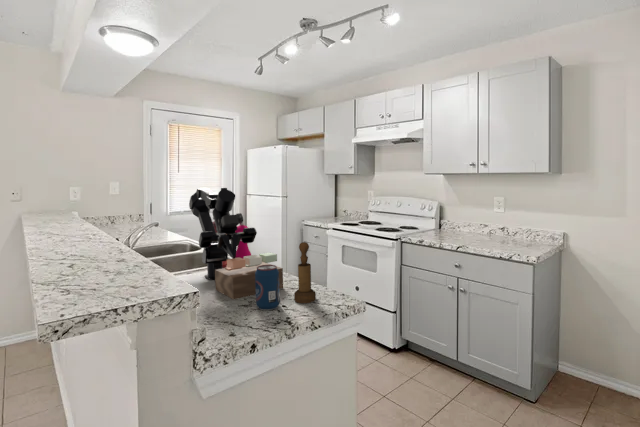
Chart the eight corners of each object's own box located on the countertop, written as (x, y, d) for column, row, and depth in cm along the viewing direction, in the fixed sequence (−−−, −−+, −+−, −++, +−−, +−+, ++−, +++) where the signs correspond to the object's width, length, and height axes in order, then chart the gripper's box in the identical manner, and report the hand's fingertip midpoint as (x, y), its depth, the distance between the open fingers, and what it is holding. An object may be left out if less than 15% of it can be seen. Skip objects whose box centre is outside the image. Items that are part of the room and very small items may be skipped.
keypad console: (215, 289, 127) (214, 268, 126) (262, 280, 138) (262, 260, 138) (233, 299, 116) (232, 276, 115) (283, 288, 127) (282, 267, 127)
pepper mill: (248, 270, 153) (246, 222, 151) (231, 270, 155) (229, 222, 153) (254, 266, 160) (253, 220, 158) (239, 266, 162) (237, 220, 160)
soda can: (252, 305, 110) (251, 266, 109) (274, 301, 114) (273, 263, 112) (261, 312, 104) (259, 270, 103) (283, 308, 107) (282, 267, 106)
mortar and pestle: (299, 304, 110) (298, 245, 109) (291, 298, 116) (289, 241, 114) (319, 301, 113) (318, 242, 112) (310, 295, 119) (308, 239, 117)
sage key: (259, 261, 128) (259, 254, 128) (270, 259, 131) (270, 252, 131) (266, 263, 125) (265, 256, 124) (277, 261, 127) (277, 254, 127)
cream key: (243, 263, 124) (243, 256, 124) (255, 261, 127) (255, 254, 127) (250, 266, 121) (249, 258, 121) (261, 263, 124) (261, 256, 123)
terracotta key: (227, 266, 121) (226, 259, 120) (239, 264, 123) (239, 257, 123) (232, 269, 117) (232, 261, 117) (245, 266, 120) (245, 259, 120)
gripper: (198, 207, 120) (209, 246, 111) (253, 204, 129) (267, 239, 121) (194, 228, 127) (204, 266, 119) (247, 224, 137) (259, 259, 128)
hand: (234, 257), depth 121 cm, fingers closed
